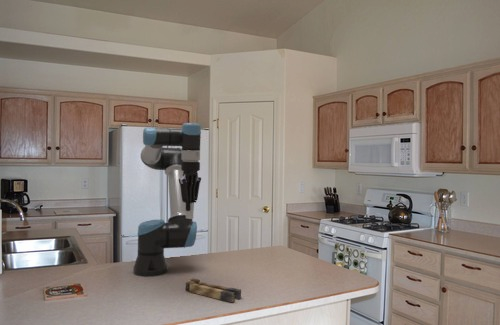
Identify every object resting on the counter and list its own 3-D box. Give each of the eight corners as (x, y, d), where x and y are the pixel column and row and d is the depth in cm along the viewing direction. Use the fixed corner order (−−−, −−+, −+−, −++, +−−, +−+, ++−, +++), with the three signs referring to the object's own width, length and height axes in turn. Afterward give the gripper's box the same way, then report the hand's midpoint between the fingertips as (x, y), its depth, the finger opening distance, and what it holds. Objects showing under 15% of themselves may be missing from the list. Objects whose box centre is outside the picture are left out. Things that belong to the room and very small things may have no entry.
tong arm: (185, 290, 156) (185, 281, 156) (189, 289, 158) (189, 280, 158) (231, 302, 145) (231, 292, 144) (234, 300, 146) (234, 290, 146)
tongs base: (184, 290, 157) (184, 280, 157) (189, 287, 161) (189, 277, 161) (236, 300, 147) (236, 290, 147) (240, 297, 150) (241, 287, 150)
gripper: (188, 161, 156) (187, 221, 157) (207, 161, 167) (205, 217, 168) (173, 161, 159) (172, 219, 160) (192, 160, 171) (191, 215, 172)
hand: (189, 218), depth 164 cm, fingers closed
